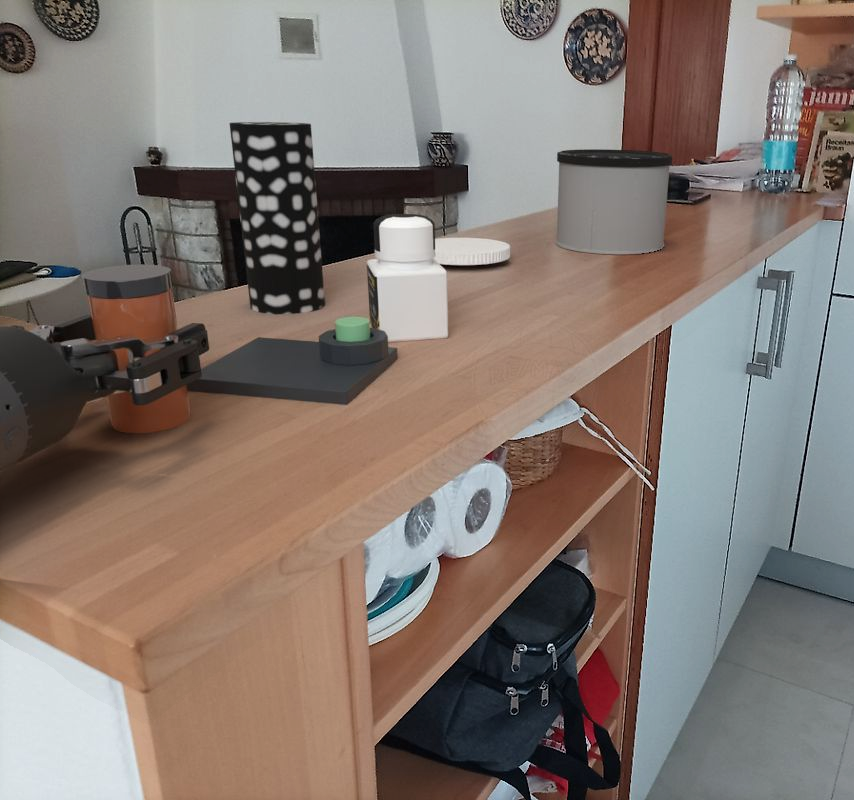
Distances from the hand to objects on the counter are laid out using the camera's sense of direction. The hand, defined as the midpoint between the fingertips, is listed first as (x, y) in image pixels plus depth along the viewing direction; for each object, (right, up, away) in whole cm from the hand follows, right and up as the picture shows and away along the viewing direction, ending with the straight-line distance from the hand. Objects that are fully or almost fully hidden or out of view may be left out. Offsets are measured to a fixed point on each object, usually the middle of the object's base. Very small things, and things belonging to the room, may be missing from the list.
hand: (149, 331), depth 57 cm
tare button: (+12, 0, +12) cm, 17 cm away
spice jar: (0, -6, +1) cm, 7 cm away
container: (+41, +21, +76) cm, 89 cm away
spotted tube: (0, +6, +33) cm, 34 cm away
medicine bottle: (+15, +2, +24) cm, 29 cm away
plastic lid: (+18, +15, +59) cm, 63 cm away
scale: (+8, -3, +11) cm, 14 cm away
